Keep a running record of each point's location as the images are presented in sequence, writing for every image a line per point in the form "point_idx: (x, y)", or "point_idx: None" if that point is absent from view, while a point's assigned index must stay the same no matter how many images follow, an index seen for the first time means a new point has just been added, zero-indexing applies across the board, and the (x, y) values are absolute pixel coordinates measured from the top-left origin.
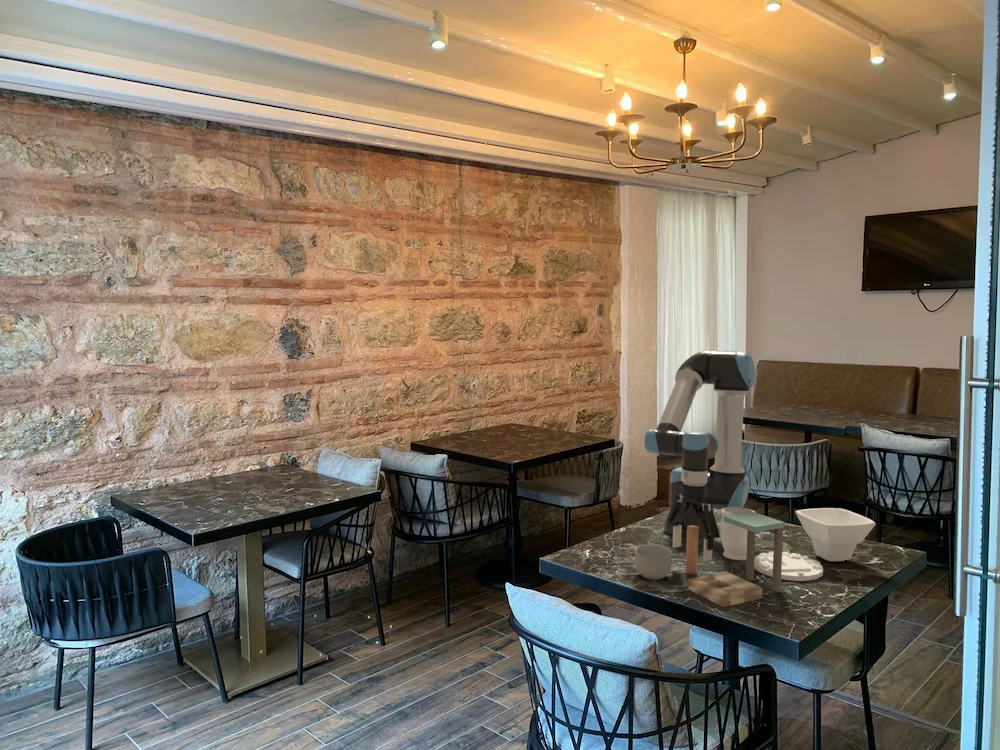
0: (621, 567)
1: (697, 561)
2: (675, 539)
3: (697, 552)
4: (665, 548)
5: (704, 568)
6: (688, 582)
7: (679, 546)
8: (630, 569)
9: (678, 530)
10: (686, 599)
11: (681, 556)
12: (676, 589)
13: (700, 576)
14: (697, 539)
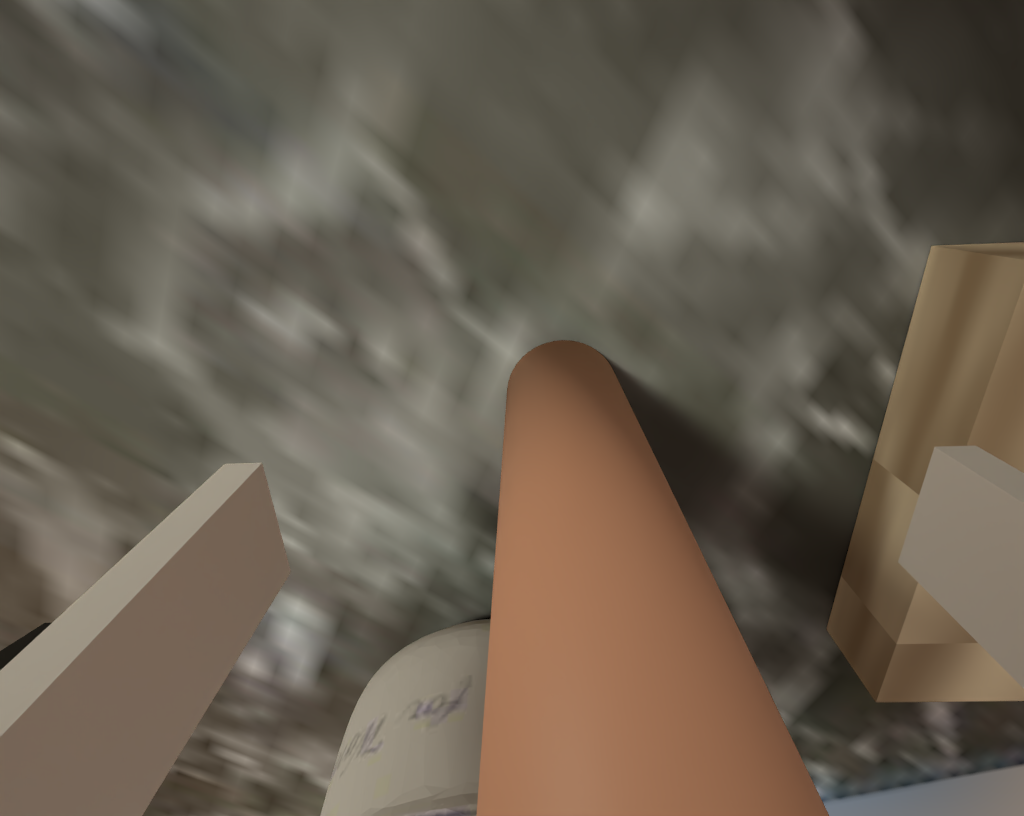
0: (278, 743)
1: (630, 409)
2: (223, 649)
3: (667, 483)
4: (453, 814)
5: (522, 181)
6: (864, 676)
7: (268, 490)
8: (330, 721)
9: (76, 778)
10: (936, 720)
11: (77, 161)
12: (778, 683)
13: (916, 598)
14: (766, 690)
